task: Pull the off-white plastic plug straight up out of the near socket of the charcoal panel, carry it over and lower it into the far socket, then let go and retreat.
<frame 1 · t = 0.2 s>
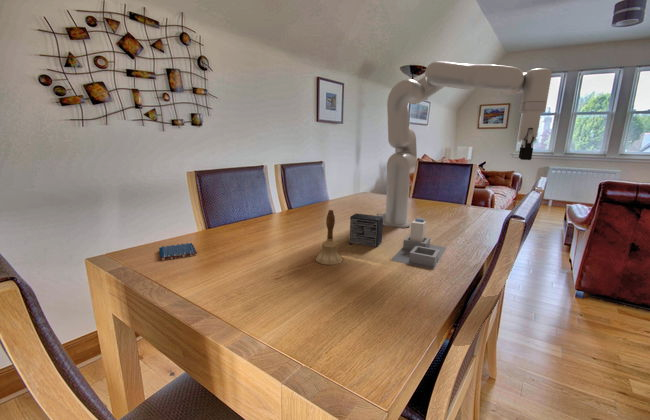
hand: (524, 159, 111), 31 cm above the table, tool pointing down, fingers open, 9 cm apart
panel: (419, 255, 103), on the table
plug: (416, 247, 109), point 1 cm above the table, touching panel
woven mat: (178, 255, 101), on the table
small box: (365, 244, 113), on the table
hand bell: (329, 260, 98), on the table
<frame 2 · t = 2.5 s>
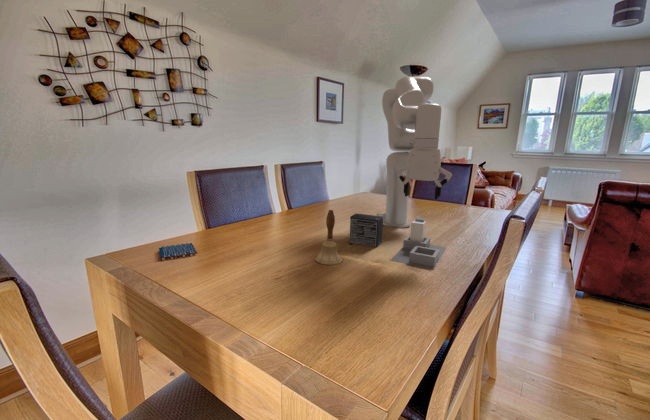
hand: (421, 197, 104), 18 cm above the table, tool pointing down, fingers open, 9 cm apart
nothing on the table moved.
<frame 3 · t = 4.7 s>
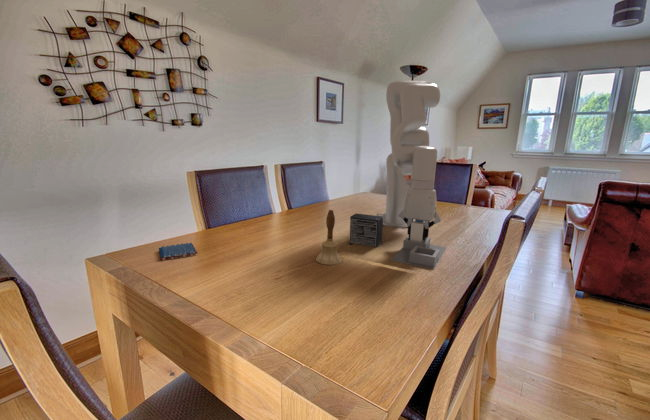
hand: (417, 237, 108), 4 cm above the table, tool pointing down, fingers closed on plug, 4 cm apart
plug: (416, 247, 109), point 1 cm above the table, touching gripper, panel
everything else where it was.
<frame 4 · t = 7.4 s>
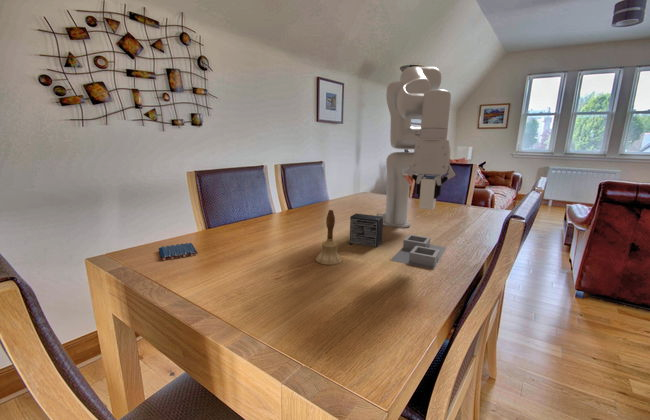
hand: (428, 196, 95), 20 cm above the table, tool pointing down, fingers closed on plug, 4 cm apart
plug: (427, 208, 96), point 17 cm above the table, touching gripper
everything else where it was.
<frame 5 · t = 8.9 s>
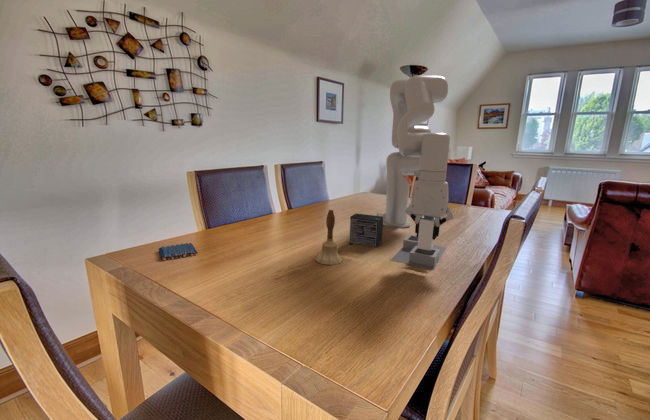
hand: (426, 236, 95), 9 cm above the table, tool pointing down, fingers closed on plug, 4 cm apart
plug: (425, 247, 96), point 5 cm above the table, touching gripper
everything else where it was.
when the fingers open (5 cm above the table, at t = 10.2 s): plug stays where it is, resting on panel.
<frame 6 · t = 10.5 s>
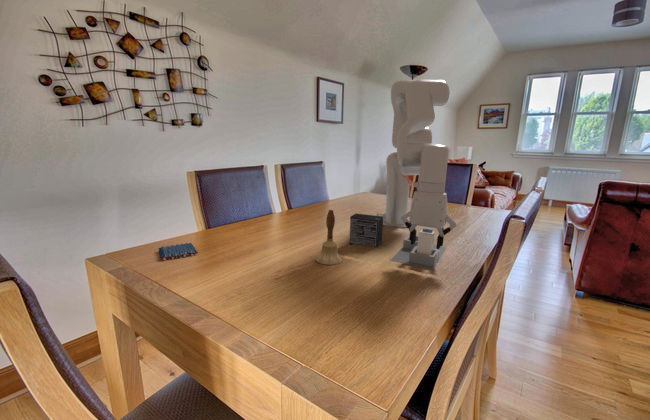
hand: (425, 245, 96), 6 cm above the table, tool pointing down, fingers open, 7 cm apart
plug: (424, 260, 97), point 1 cm above the table, touching panel
everything else where it was.
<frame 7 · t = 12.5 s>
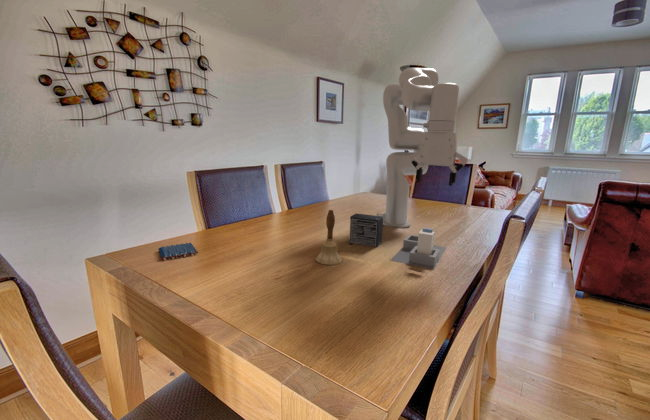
hand: (434, 183, 99), 24 cm above the table, tool pointing down, fingers open, 9 cm apart
nothing on the table moved.
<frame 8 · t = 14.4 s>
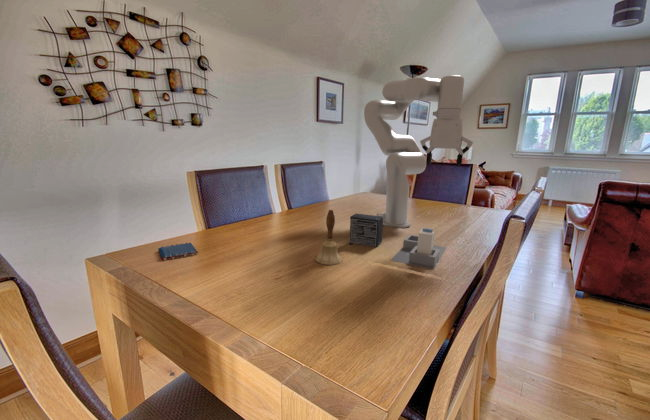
hand: (443, 165, 111), 28 cm above the table, tool pointing down, fingers open, 9 cm apart
nothing on the table moved.
at the end: plug 0.0 cm from the target spot on the panel, point 0.8 cm above the panel's base; plug tilted 0°; the gripper is holding nothing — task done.
